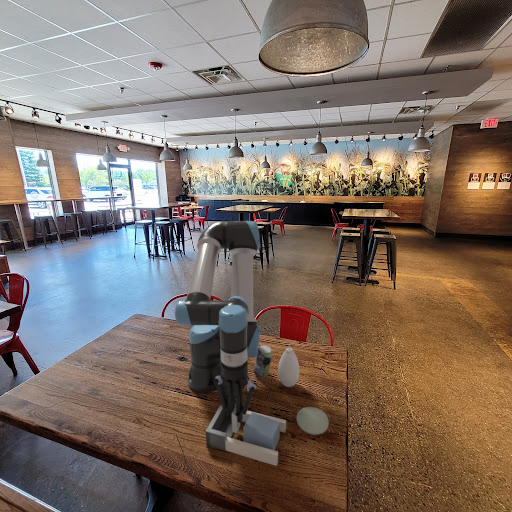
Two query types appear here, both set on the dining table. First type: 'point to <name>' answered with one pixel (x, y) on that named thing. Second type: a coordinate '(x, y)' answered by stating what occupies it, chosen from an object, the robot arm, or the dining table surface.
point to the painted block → (261, 431)
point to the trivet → (312, 420)
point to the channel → (255, 450)
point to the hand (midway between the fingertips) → (236, 428)
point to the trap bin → (219, 429)
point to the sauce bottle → (288, 368)
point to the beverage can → (263, 361)
